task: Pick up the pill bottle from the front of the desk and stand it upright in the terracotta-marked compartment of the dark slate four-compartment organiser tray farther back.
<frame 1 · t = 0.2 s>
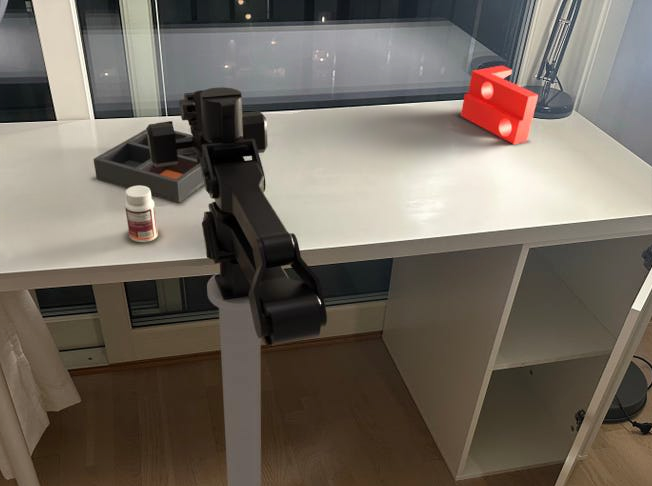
hand: (197, 120, 117), 16 cm above the table, tool horizontal, fingers open, 9 cm apart
organiser: (166, 171, 139), on the table
bracket: (502, 126, 163), on the table
pill bottle: (143, 237, 120), on the table
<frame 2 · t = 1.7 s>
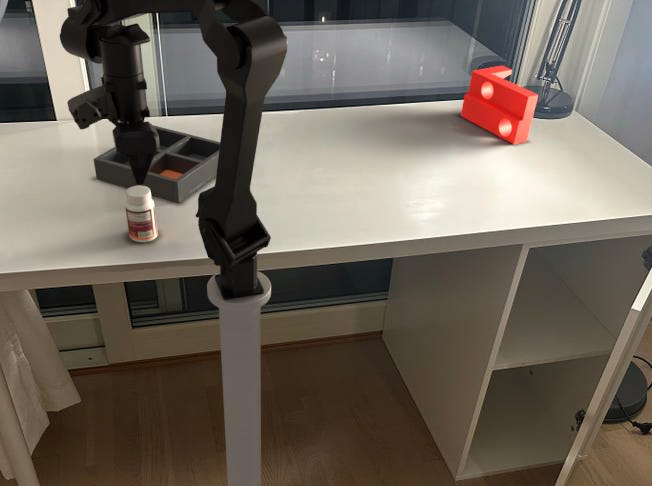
hand: (135, 171, 112), 12 cm above the table, tool pointing down, fingers open, 9 cm apart
nothing on the table moved.
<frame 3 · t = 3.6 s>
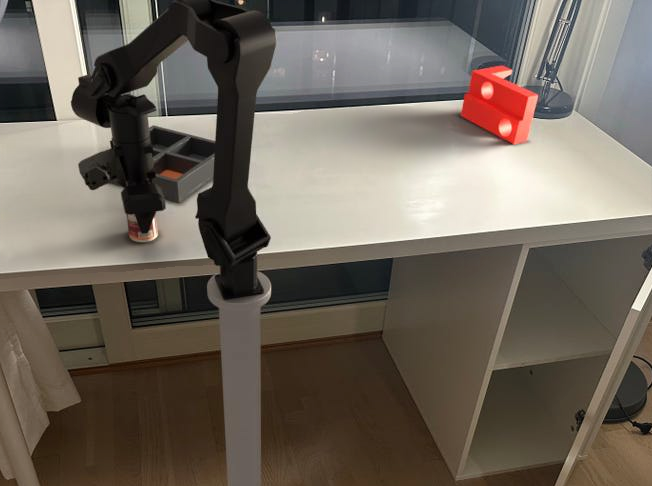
hand: (142, 225, 119), 2 cm above the table, tool pointing down, fingers closed on pill bottle, 5 cm apart
pill bottle: (143, 237, 120), on the table, touching gripper
everything else where it was.
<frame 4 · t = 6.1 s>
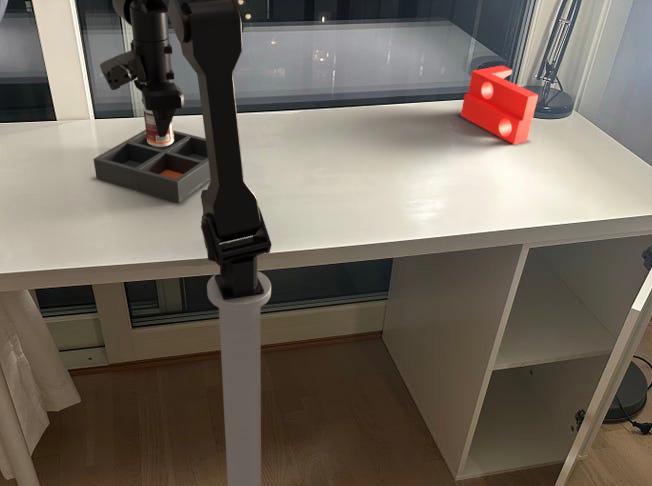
hand: (159, 130, 124), 12 cm above the table, tool pointing down, fingers closed on pill bottle, 5 cm apart
pill bottle: (160, 142, 125), point 10 cm above the table, touching gripper
everything else where it was.
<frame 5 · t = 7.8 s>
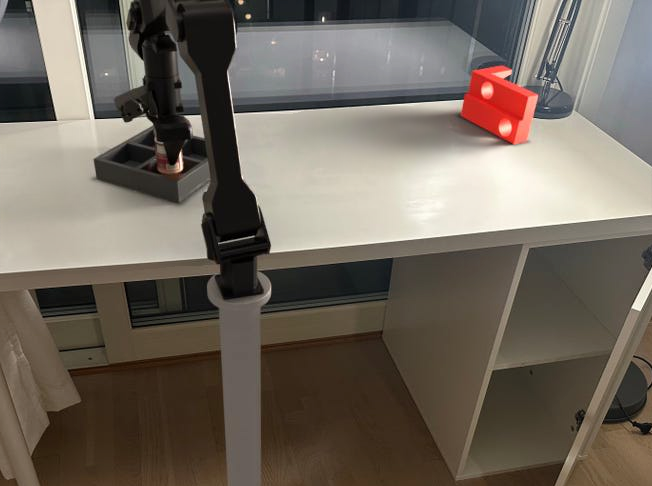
hand: (169, 159, 131), 5 cm above the table, tool pointing down, fingers closed on pill bottle, 5 cm apart
pill bottle: (170, 170, 132), point 3 cm above the table, touching gripper
everything else where it was.
when the fingers open (3 cm above the table, at t = 9.6 s): pill bottle stays where it is, resting on organiser.
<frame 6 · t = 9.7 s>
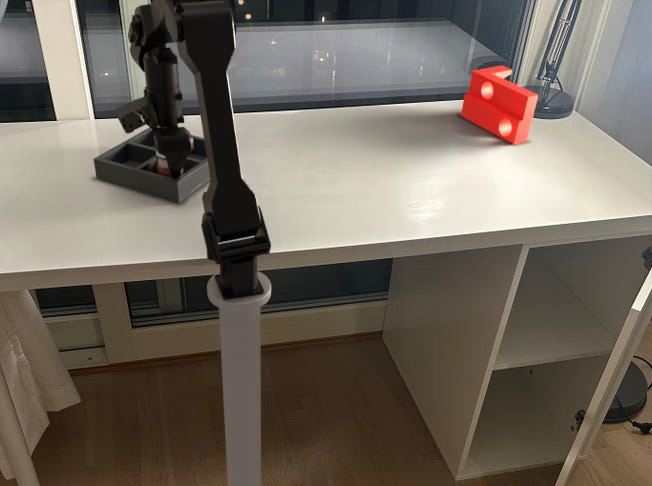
hand: (170, 168, 132), 3 cm above the table, tool pointing down, fingers open, 9 cm apart
pill bottle: (171, 183, 134), point 1 cm above the table, touching organiser
everything else where it was.
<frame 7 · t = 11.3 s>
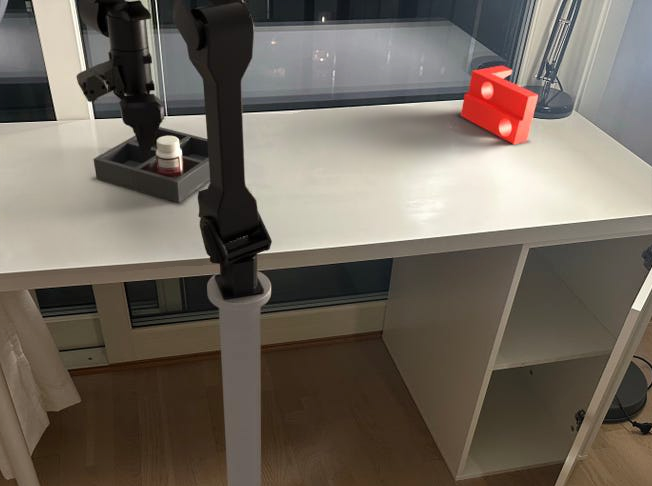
hand: (141, 144, 118), 13 cm above the table, tool pointing down, fingers open, 9 cm apart
nothing on the table moved.
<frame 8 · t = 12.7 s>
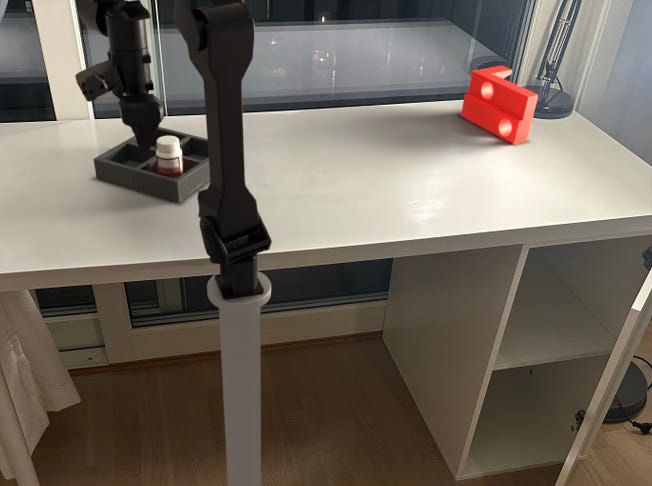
hand: (140, 143, 117), 13 cm above the table, tool pointing down, fingers open, 9 cm apart
nothing on the table moved.
at the end: pill bottle 0.3 cm from the target spot in the organiser, point 0.6 cm above the organiser's base; pill bottle tilted 0°; the gripper is holding nothing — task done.
